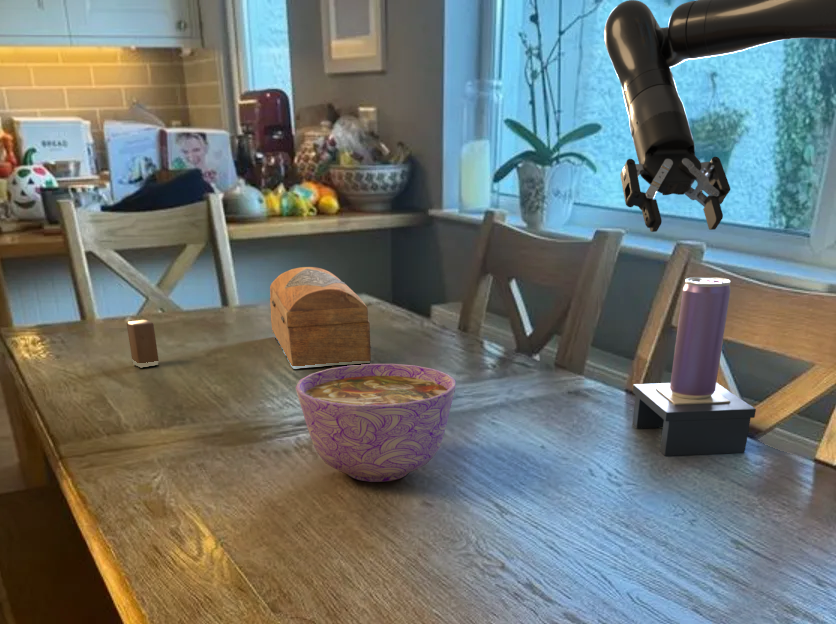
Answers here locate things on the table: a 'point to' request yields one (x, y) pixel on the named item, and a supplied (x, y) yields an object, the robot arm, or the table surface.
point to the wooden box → (318, 318)
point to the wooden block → (142, 341)
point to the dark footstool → (693, 420)
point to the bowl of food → (376, 417)
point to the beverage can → (700, 337)
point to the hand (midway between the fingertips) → (686, 226)
